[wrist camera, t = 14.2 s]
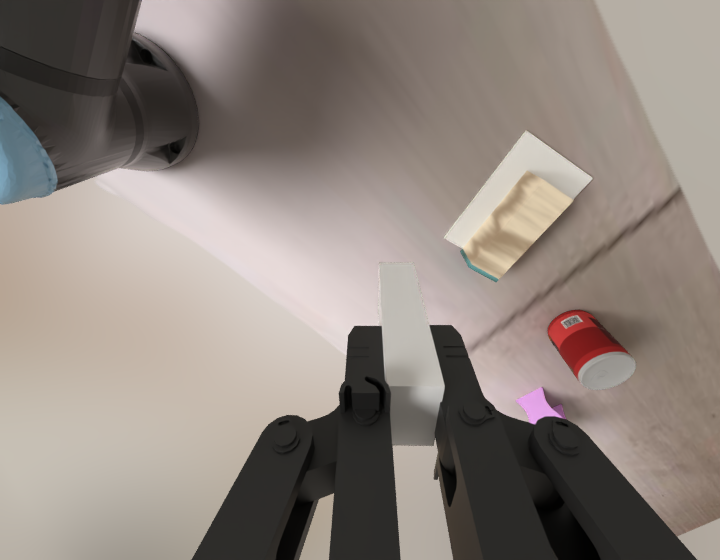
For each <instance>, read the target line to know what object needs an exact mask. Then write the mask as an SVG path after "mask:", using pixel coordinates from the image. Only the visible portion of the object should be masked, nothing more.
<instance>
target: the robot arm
mask: <svg viewBox="0 0 720 560" xmlns="http://www.w3.org/2000/svg"><path fill="white" fill-rule="evenodd" d="M141 2H142V0H0V204H9V203H15V202H19V201H22V200H26V199H29V198H36V197H46V196H48V195H50V194H52V192H54V191H57V190H60V189H62V188H65V187H68V186H71V185H73V184H76V183H79V182H81V181H84V180H87V179H90V178H93V177H95V176H98V175H101V174H103V173H106V172H109V171H112V170H115V169H117V168H123V169H131V170H139V171H156V170H161V169H165V168H167V167H170V166H172V165H174V164H177V163H178V162H180V161H182V160H183V159H184V158H185V157H186V156H187V155H188V154H189V153H190V151H191V150H192V148H193V146H194V144H195V142H196V138H197V134H198V111H197V106H196V102H195V99H194V96H193V93H192V91H191V88H190V86H189V84H188V82H187V81H186V79H185V77H184V75H183V74H182V72H181V71H180V69H179V68H178V67H177V65H176V64H175V63H174V62H173V61H172V59H171V58H170V57H169V56H168V55H167V54H166V53H165V52H164V51H163V50H162V49H160V48H159V47H158V46H157V45H155V44H154V43H153V42H151V41H150V40H148V39H146V38H145V37H143V36H141V35H139V34H137V33H134V28H135V25H136V21H137V17H138V13H139V9H140V5H141ZM378 321H379V326H354V328H353V329H352V331H351V332H350V334H349V335H348V346H347V359H346V373H345V381H344V382H343V384H342V385H341V388H340V391H339V401H340V405H339V406H338V407H337V408H336V409H335V410H334V411H333V412H331V413H330V414H328V415H326V416H323V417H321V418H318V419H314V420H311V421H308V422H307V421H306V420H305V419H303V418H301V417H299V416H297V415H296V416H295V415H286V416H283V417H279V418H277V419H276V420H274V421H273V422H271V423H270V424H268V426H267V427H266V428H265V430H264V431H263V432H262V434H261V435H260V437H259V439H258V441H257V443H256V445H255V446H254V448H253V450H252V452H251V454H250V455H249V457H248V459H247V461H246V463H245V464H244V466H243V468H242V470H241V472H240V473H239V475H238V477H237V479H236V481H235V482H234V484H233V486H232V488H231V490H230V491H229V493H228V495H227V497H226V499H225V500H224V502H223V504H222V506H221V508H220V510H219V511H218V513H217V515H216V517H215V518H214V520H213V522H212V524H211V526H210V527H209V529H208V531H207V533H206V535H205V537H204V538H203V540H202V542H201V544H200V546H199V547H198V549H197V551H196V553H195V555H194V556H193V558H192V560H299V558H300V555H301V552H302V549H303V546H304V543H305V540H306V536H307V534H308V531H309V527H310V524H311V521H312V518H313V516H314V512H315V509H316V506H317V503H318V500H319V499H320V498H322V497H325V496H328V495H330V494H333V493H334V503H333V515H332V529H331V541H330V554H329V560H400V546H399V532H398V518H397V506H396V490H395V477H394V464H393V463H394V462H393V448H392V445H409V446H410V445H411V446H417V445H418V446H433V445H434V440H435V438H436V443H437V448H438V455H437V460H436V465H435V469H434V479H435V480H437V479H438V476H439V481H440V487H441V493H442V498H443V504H444V509H445V514H446V520H447V526H448V532H449V537H450V543H451V549H452V554H453V560H697V559H696V558H695V557H694V556H693V555H692V553H691V552H690V551H689V550H688V549H687V548H686V547H685V545H684V544H683V543H682V542H681V541H680V540H679V539H678V537H677V536H676V535H675V534H674V533H673V532H672V531H671V530H670V528H669V527H668V526H667V525H666V524H665V523H664V522H663V520H662V519H661V518H660V517H659V516H658V515H657V514H656V512H655V511H654V510H653V509H652V508H651V507H650V506H649V504H648V503H647V502H646V501H645V500H644V499H643V498H642V497H641V495H640V494H639V493H638V492H637V491H636V490H635V489H634V487H633V486H632V485H631V484H630V483H629V482H628V481H627V479H626V478H625V477H624V476H623V475H622V474H621V473H620V471H619V470H618V469H617V468H616V467H615V466H614V465H613V464H612V462H611V461H610V460H609V459H608V458H607V457H606V456H605V454H604V453H603V452H602V451H601V450H600V449H599V448H598V446H597V445H596V444H595V443H594V442H593V441H592V440H591V439H590V437H589V436H588V435H587V434H586V433H585V432H584V431H583V430H581V429H580V428H579V427H578V426H577V425H575V424H573V423H572V422H570V421H568V420H566V419H563V418H559V417H556V416H545V417H543V418H541V419H539V420H537V422H536V424H532V423H529V422H525V421H522V420H518V419H515V418H512V417H509V416H506V415H504V414H502V413H501V412H499V411H497V410H496V409H495V407H494V405H492V404H491V403H490V402H489V401H488V400H487V399H485V397H484V395H483V393H482V391H481V388H480V386H479V383H478V380H477V377H476V375H475V372H474V369H473V367H472V364H471V361H470V358H468V353H467V350H466V348H465V345H464V342H463V340H462V337H461V335H460V334H459V333H458V331H457V330H456V329H455V328H454V327H453V326H452V325H429V322H428V318H427V314H426V310H425V306H424V302H423V298H422V294H421V290H420V286H419V283H418V279H417V275H416V271H415V267H414V263H379V290H378Z"/></svg>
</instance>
